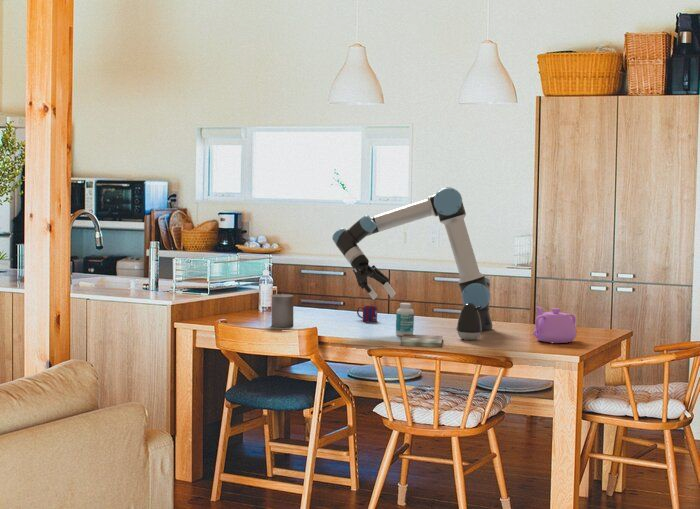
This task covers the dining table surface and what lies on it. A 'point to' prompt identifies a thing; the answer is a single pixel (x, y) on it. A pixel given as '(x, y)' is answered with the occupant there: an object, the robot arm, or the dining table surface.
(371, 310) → the mug
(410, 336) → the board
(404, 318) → the pill bottle
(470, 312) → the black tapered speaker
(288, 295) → the pillar candle
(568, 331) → the teapot
